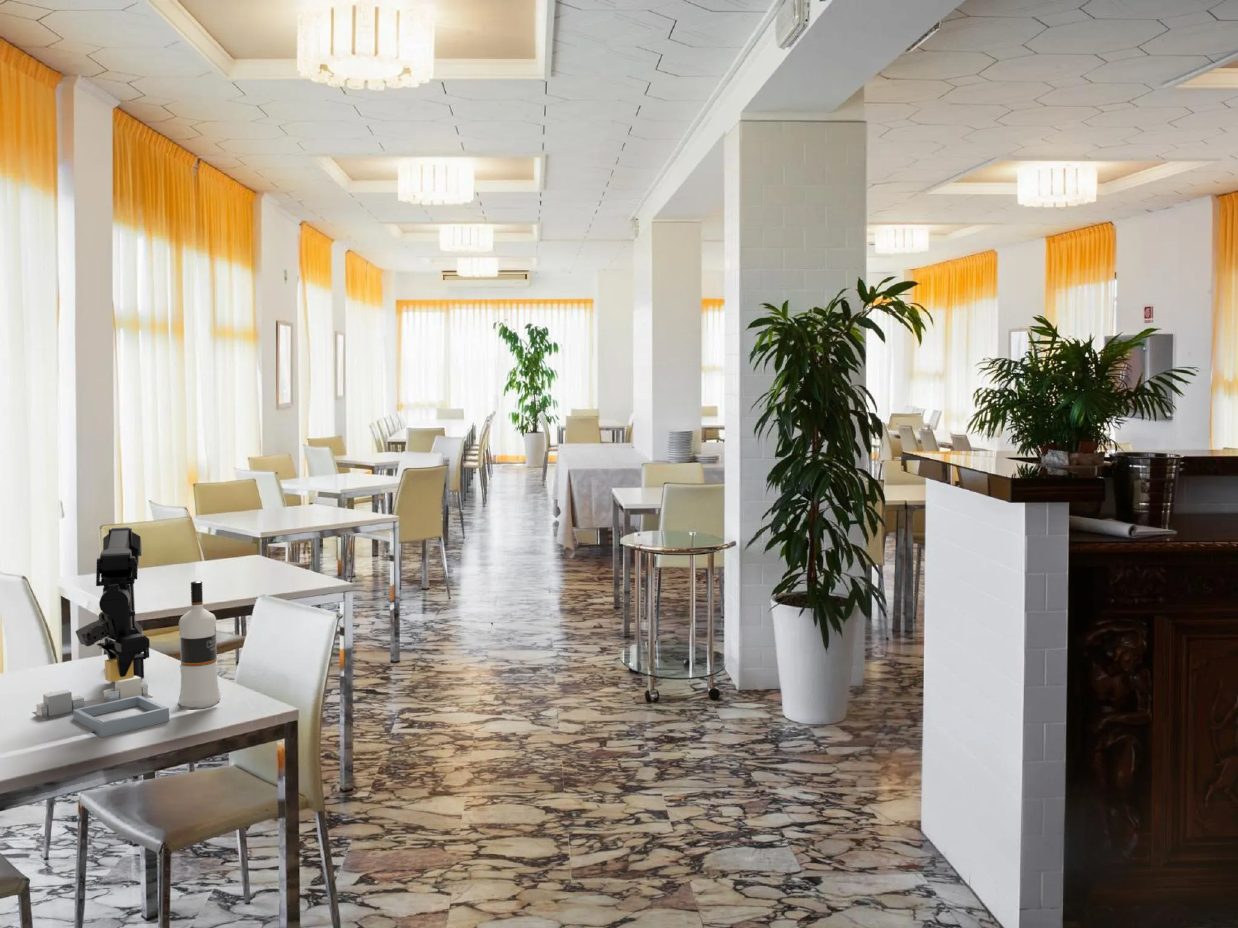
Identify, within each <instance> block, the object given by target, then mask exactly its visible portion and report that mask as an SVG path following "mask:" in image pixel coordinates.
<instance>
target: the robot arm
mask: <svg viewBox="0 0 1238 928" xmlns="http://www.w3.org/2000/svg"><path fill="white" fill-rule="evenodd" d="M142 554H143V553H142V539H141V536H140V535H139V534H137V533H134V532H133V529H132V528H131V527H112V528H111V529H110V528H108V534H106V535H105V536H104V537H103V539H102V551H101V552H100V555H99V557H98V558H96V571H95V572H96V574H95V578H96V579H95V580H96V581H95V586H96V587H102V593H101V596H100V599H99V603H98V606H99V609H100V612H99V614H98V619H97V620H95V621H92V622H90V623H88V624H87V625H84V626H82V627H80V628H78V629H77V630H75V635H76V636H77V638H78V641H79V643H80V645H84V646H85V647H90V646H93V645H95V643H97V642H99V641H100V642H99V643H97V644H96V646H97V647H99V648H101V649H102V650H103V651H104V652H105V654H106V656H107V658H108V659H114V658H117V664H118V669H119V674H120V677H124V676H126V674H127V672H128V670H129V668H130V665H131V663H132V661H133V672H134V676H138V677H141V679H144V678H145V668H144V667H145V665H144V664H145V663H144V660H147V659H149V658H150V646H151V644H150V638H148V637H147V636H146V635H144V633H143V627H142V625H141V624H140V623H139V622H138V621H137V620H136V608H135V607H136V606H135V603H136V602H135V589H134V588H135V586H134V585H135V581H136V580H138V566H139V563H140V562H139V560H140V557H142ZM108 659H107V660H108ZM114 683H115V681H114Z"/></svg>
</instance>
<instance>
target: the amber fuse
mask: <svg viewBox="0 0 1238 928" xmlns="http://www.w3.org/2000/svg"><path fill="white" fill-rule="evenodd" d="M104 675H105V676H104V677H105V679H104V680H105V681H108V682H109V683H113V682H114V681H119V680H124V679H129V678H134V672H133V661H132V663H131V665H130V668H129V670H128V672H127V674H126V676H124V677H120V674H119V669H118V664H117V658H114V659H104ZM114 683H115V682H114Z"/></svg>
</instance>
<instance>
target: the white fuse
mask: <svg viewBox="0 0 1238 928" xmlns="http://www.w3.org/2000/svg"><path fill="white" fill-rule="evenodd" d="M141 682H142V678H141V677H138V676H134V678H129V679H124V680H119V681H115V682H114V688H115V689H117V690H119V700H121V699H125V698H130V697H134V696H139V695H140V696H142V689H141Z"/></svg>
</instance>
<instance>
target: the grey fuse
mask: <svg viewBox="0 0 1238 928" xmlns="http://www.w3.org/2000/svg"><path fill="white" fill-rule="evenodd" d="M42 696H43V698H42V700H43V704H45V705H47V715H48V716H52V715H57V714H61V713H66V712H70V711H72V697H73V695H72V691H70V690H68V689H62V690H58V691H52V692H48V693H43V695H42Z"/></svg>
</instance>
